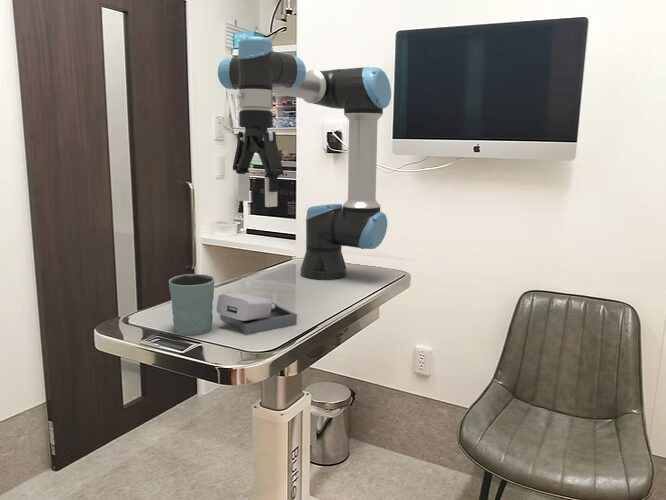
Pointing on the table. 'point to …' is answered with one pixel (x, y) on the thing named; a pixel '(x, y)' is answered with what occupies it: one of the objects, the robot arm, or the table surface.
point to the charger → (244, 306)
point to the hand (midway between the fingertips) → (256, 203)
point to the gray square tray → (264, 321)
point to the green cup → (192, 303)
